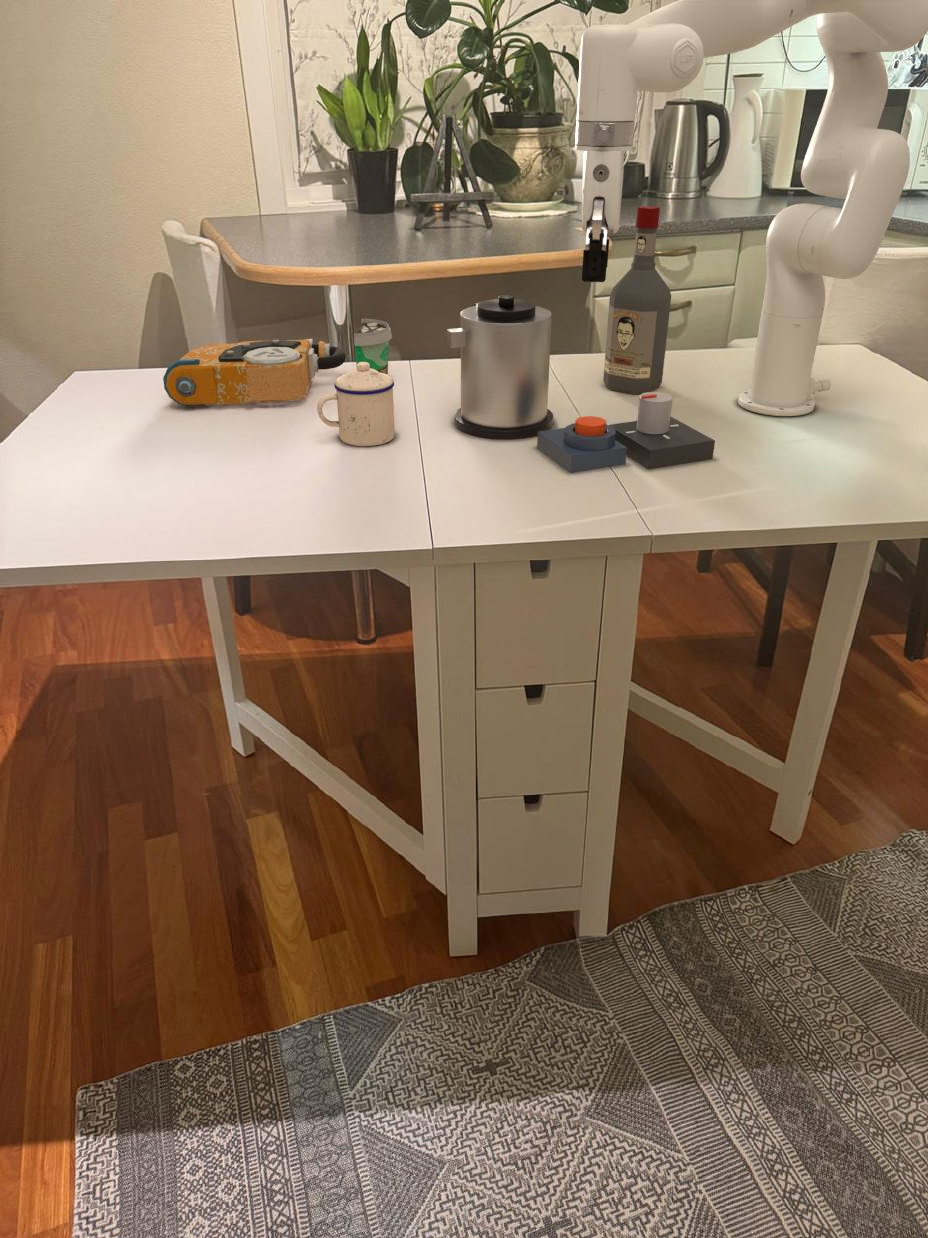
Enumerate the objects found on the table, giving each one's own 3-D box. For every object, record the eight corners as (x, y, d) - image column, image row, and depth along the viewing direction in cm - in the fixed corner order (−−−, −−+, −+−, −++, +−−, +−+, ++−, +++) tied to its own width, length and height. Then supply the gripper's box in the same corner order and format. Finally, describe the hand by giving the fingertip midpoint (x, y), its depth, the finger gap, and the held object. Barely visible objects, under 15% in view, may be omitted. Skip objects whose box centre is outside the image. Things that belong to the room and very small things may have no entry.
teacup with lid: (389, 425, 148) (385, 353, 142) (402, 444, 140) (399, 368, 134) (315, 433, 145) (308, 359, 139) (325, 452, 137) (318, 375, 131)
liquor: (621, 376, 172) (636, 202, 156) (665, 384, 167) (685, 206, 152) (597, 388, 165) (611, 207, 150) (643, 397, 161) (662, 212, 145)
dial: (657, 422, 140) (661, 388, 137) (675, 432, 136) (679, 397, 133) (630, 426, 138) (633, 391, 135) (647, 436, 134) (650, 400, 132)
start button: (595, 425, 135) (596, 414, 134) (610, 435, 131) (611, 423, 131) (569, 429, 134) (570, 418, 133) (583, 439, 130) (584, 427, 129)
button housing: (589, 440, 141) (591, 412, 139) (625, 464, 133) (628, 435, 130) (536, 448, 139) (538, 419, 136) (570, 473, 130) (572, 443, 128)
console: (668, 434, 144) (670, 414, 142) (712, 459, 134) (715, 439, 133) (606, 443, 141) (608, 423, 139) (648, 470, 131) (650, 449, 129)
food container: (391, 390, 164) (388, 334, 159) (357, 390, 164) (353, 334, 159) (396, 371, 175) (394, 317, 170) (364, 371, 175) (361, 317, 170)
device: (183, 330, 169) (345, 326, 171) (190, 374, 173) (348, 370, 175) (156, 363, 150) (339, 358, 151) (165, 412, 154) (343, 407, 156)
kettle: (518, 397, 160) (521, 279, 150) (570, 432, 145) (577, 302, 135) (425, 409, 155) (422, 287, 145) (468, 447, 139) (468, 312, 129)
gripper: (633, 141, 111) (621, 287, 120) (633, 133, 126) (622, 264, 135) (571, 140, 112) (564, 285, 121) (578, 133, 127) (571, 263, 136)
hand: (594, 274), depth 128 cm, fingers open, 9 cm apart
